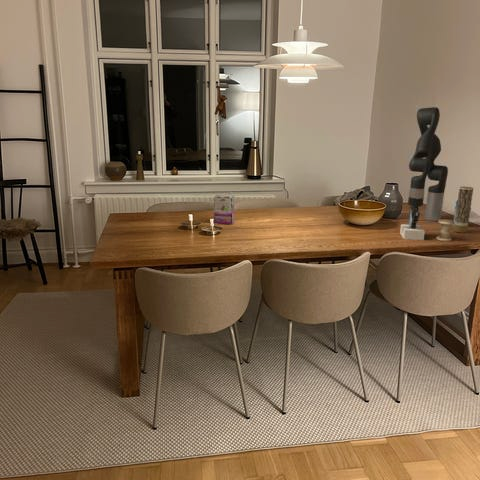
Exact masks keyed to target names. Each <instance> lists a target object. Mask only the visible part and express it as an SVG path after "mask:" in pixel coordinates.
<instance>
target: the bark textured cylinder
mask: <svg viewBox="0 0 480 480" xmlns="http://www.w3.org/2000/svg"><path fill="white" fill-rule="evenodd" d="M458 196H459V193H458ZM458 196H457V197H458ZM457 203H458V199H457V200H456V202H455V206H454V214H453V221H454V224H455V217H456V210H457ZM471 210H472V207H471V208H470V211H471ZM470 214H471V213H470ZM470 214H469V217H470ZM469 222H470V220H469V221H468V223H469ZM454 224H453V225H452V226H454Z"/></svg>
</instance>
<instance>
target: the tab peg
mask: <svg viewBox="0 0 480 480" xmlns="http://www.w3.org/2000/svg"><path fill="white" fill-rule="evenodd" d="M409 216H410V217H409V222H408V225H409V229H411V224H412V218H411V214H410V213H409ZM414 220H416V218H415V219H414ZM416 224H417V222H416Z"/></svg>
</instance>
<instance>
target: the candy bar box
mask: <svg viewBox="0 0 480 480" xmlns="http://www.w3.org/2000/svg"><path fill="white" fill-rule="evenodd" d="M213 205H214V206H213V214H214V215H213V216H214V217H213V218H214V220H213V221H214V222H213V223H214V224H215V223H219V224H218V225H229V224H232V225H234V224H235V196H234V195H218V194H217V195H215V196H213Z"/></svg>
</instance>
